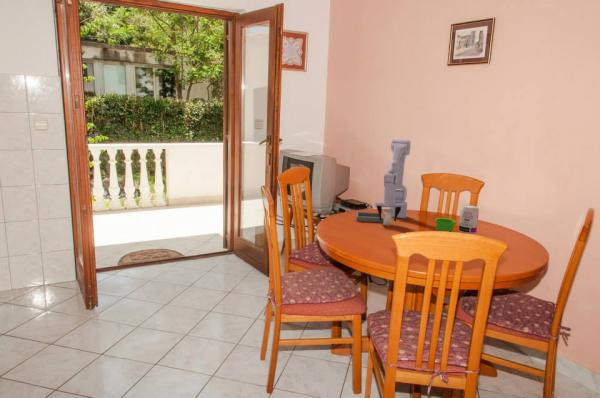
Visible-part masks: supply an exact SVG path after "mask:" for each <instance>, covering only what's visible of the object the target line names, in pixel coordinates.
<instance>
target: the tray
mask: <svg viewBox="0 0 600 398" xmlns="http://www.w3.org/2000/svg"><path fill="white" fill-rule="evenodd" d="M355 218H356V222H361V221H363V223H381V224H383V218H384V216H383V215H382V213H381V221H380V220H379V213H378V212H364V211H356V212H355Z"/></svg>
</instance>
